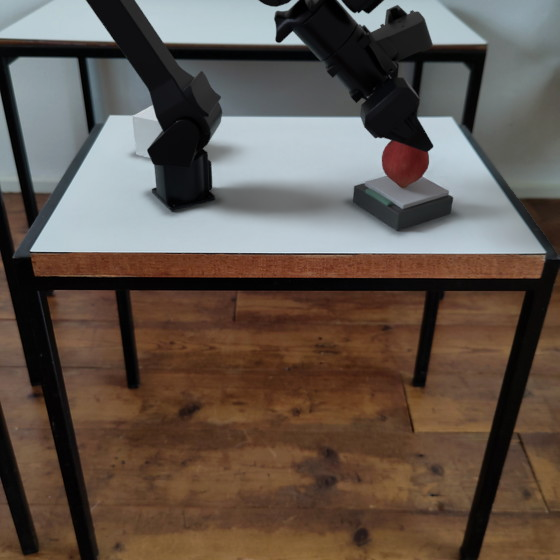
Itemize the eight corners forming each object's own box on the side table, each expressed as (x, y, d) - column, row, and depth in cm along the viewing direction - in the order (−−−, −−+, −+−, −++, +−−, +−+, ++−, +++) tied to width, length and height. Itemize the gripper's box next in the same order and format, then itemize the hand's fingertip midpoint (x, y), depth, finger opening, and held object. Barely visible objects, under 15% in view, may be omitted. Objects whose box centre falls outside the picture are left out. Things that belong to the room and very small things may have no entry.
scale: (396, 231, 85) (399, 209, 83) (352, 202, 91) (354, 181, 89) (450, 213, 89) (454, 192, 87) (404, 186, 95) (407, 166, 94)
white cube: (158, 141, 107) (155, 103, 104) (192, 148, 105) (190, 109, 102) (136, 154, 103) (132, 115, 99) (170, 162, 101) (167, 122, 97)
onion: (372, 190, 87) (378, 130, 83) (388, 173, 92) (395, 115, 87) (416, 201, 85) (425, 139, 81) (430, 183, 89) (439, 124, 85)
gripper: (409, 7, 67) (500, 117, 74) (379, -29, 83) (456, 64, 89) (324, 87, 71) (417, 184, 78) (311, 38, 87) (389, 123, 93)
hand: (422, 134), depth 84 cm, fingers open, 9 cm apart
